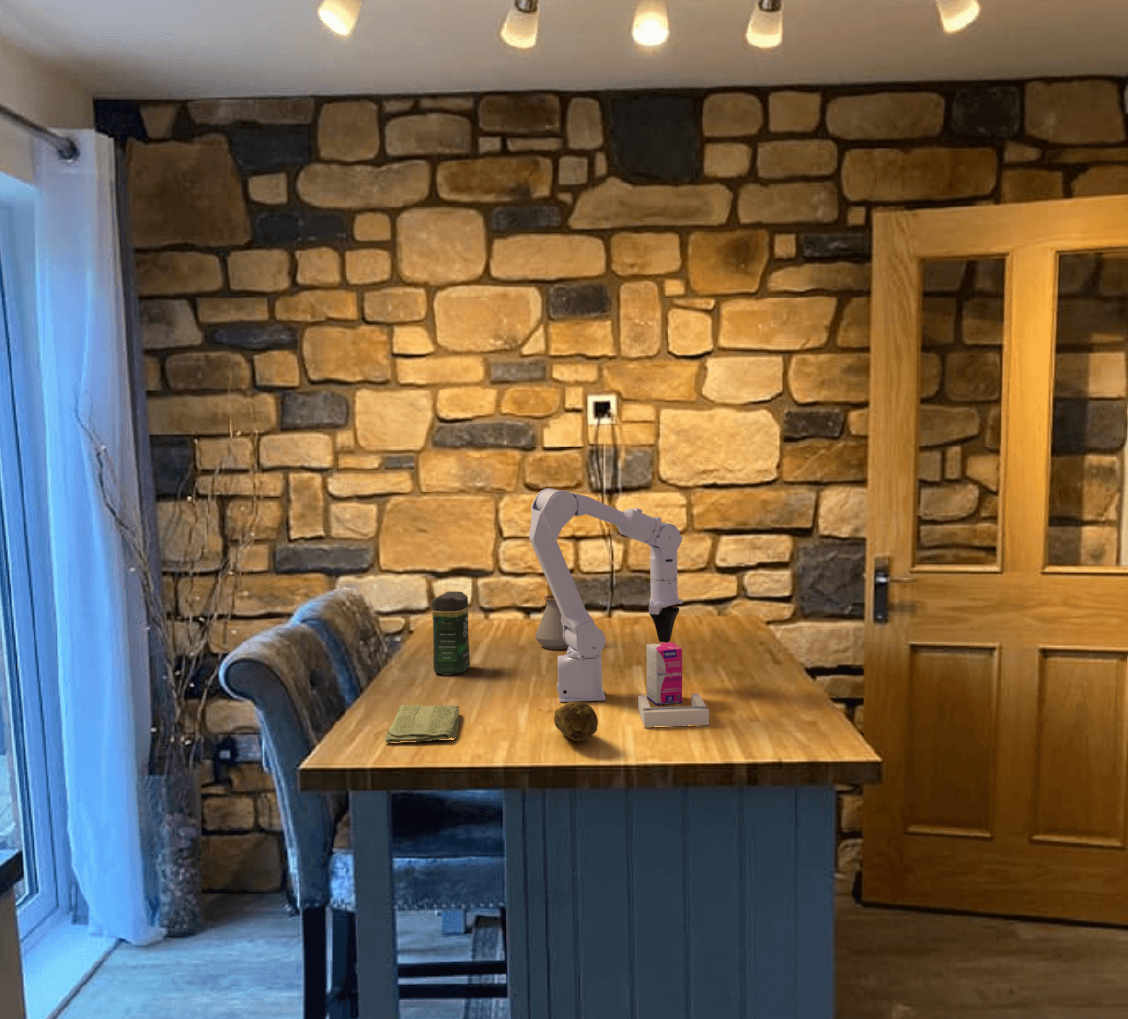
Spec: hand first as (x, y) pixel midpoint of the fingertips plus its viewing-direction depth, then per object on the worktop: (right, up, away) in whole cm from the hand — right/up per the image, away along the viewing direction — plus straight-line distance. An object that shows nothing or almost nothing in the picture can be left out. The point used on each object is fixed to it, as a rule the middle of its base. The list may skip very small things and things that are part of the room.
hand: (664, 641), depth 200 cm
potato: (-19, -13, -33) cm, 40 cm away
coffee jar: (-48, -10, +19) cm, 52 cm away
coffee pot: (-23, -7, +47) cm, 53 cm away
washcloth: (-48, -14, -23) cm, 55 cm away
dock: (-1, -12, -20) cm, 24 cm away
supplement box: (-1, -11, -10) cm, 15 cm away
